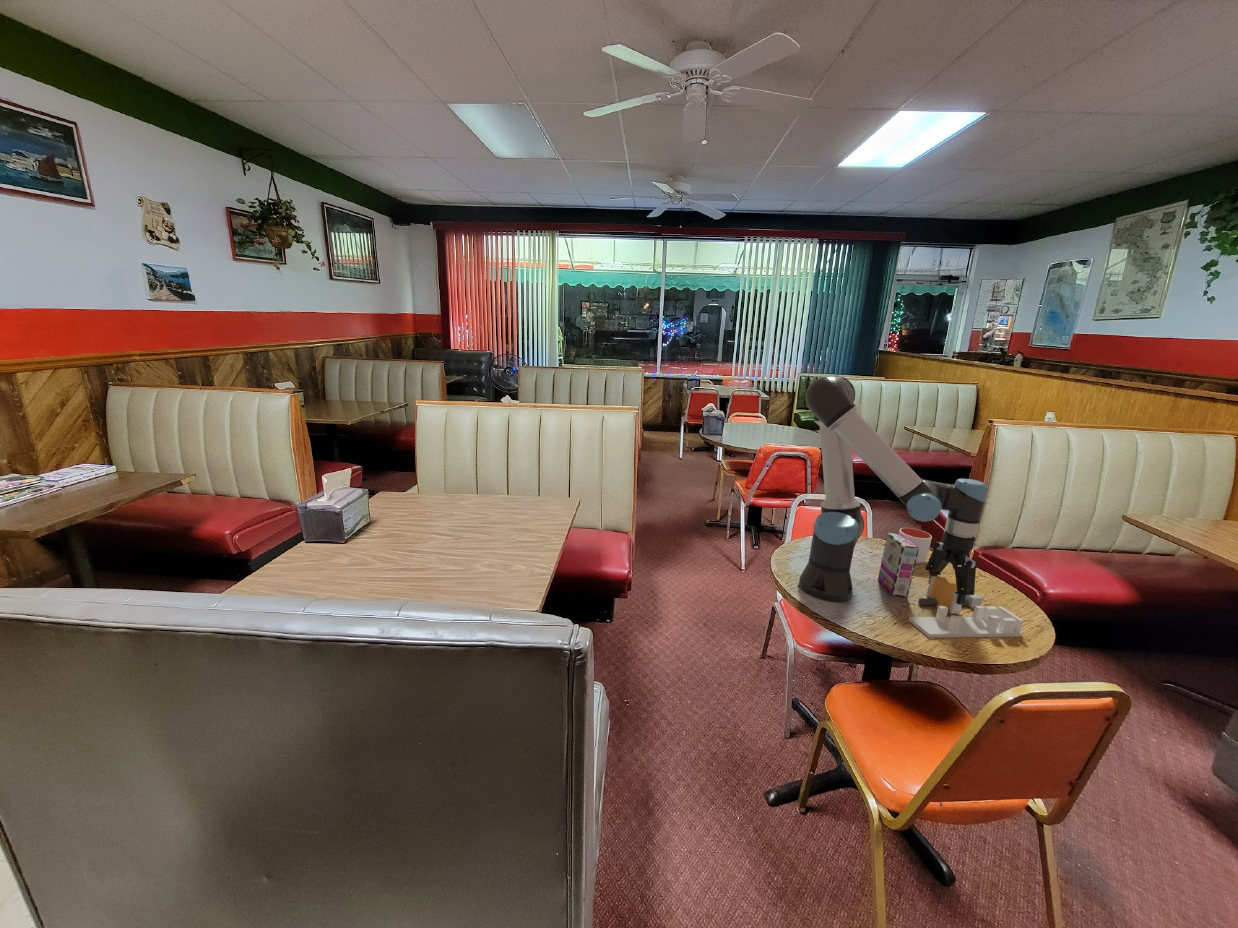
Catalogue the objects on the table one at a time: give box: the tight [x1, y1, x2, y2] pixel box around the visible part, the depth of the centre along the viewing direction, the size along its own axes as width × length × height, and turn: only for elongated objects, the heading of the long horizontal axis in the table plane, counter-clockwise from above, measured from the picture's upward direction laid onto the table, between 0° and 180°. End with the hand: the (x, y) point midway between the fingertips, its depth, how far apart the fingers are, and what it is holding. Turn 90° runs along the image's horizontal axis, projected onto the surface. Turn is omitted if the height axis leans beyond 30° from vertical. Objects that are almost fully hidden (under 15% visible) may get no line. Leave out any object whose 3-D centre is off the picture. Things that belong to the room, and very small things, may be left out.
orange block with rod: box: [918, 576, 984, 609], centre depth 144 cm, size 18×4×8 cm, turn 95°
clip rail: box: [908, 605, 1024, 639], centre depth 132 cm, size 27×8×5 cm, turn 95°
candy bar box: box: [877, 532, 919, 598], centre depth 151 cm, size 11×5×16 cm, turn 174°
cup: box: [898, 527, 933, 565], centre depth 175 cm, size 10×10×10 cm
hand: (942, 603), depth 145 cm, fingers open, 9 cm apart
